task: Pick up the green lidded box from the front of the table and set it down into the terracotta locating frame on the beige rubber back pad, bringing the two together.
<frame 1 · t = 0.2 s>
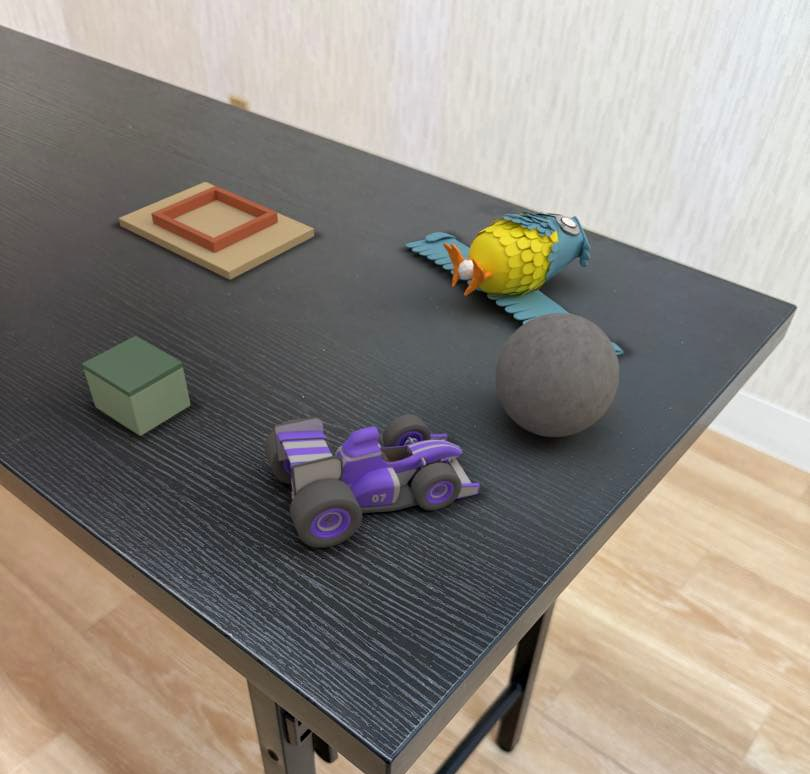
decorative ball: (546, 425, 70), on the table
back pad: (217, 231, 92), on the table
green lidded box: (143, 406, 70), on the table
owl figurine: (512, 296, 84), on the table
toy race car: (375, 491, 64), on the table
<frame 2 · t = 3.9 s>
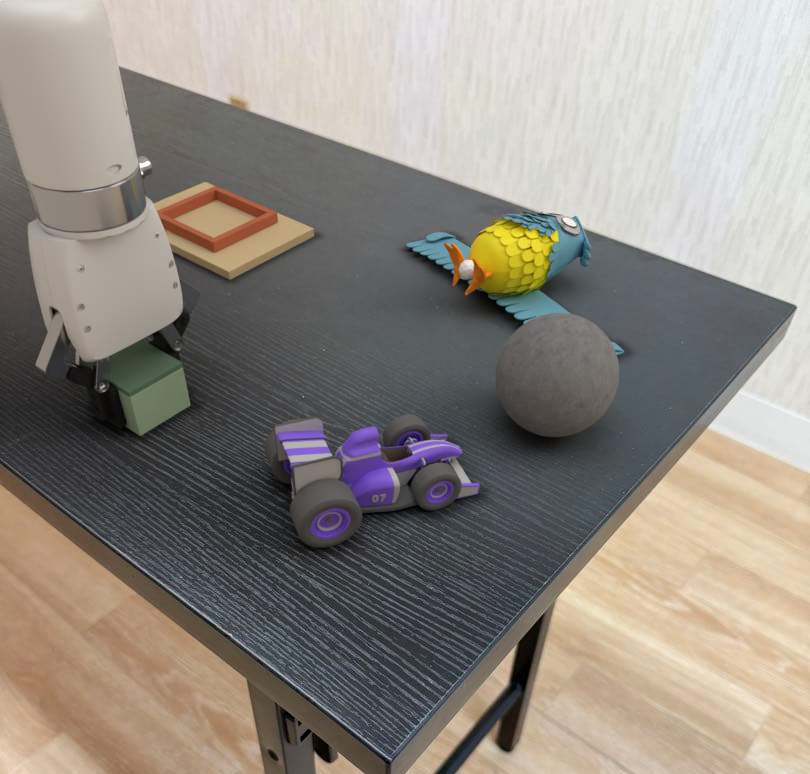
hand: (142, 401, 69), 1 cm above the table, tool pointing down, fingers closed on green lidded box, 5 cm apart
green lidded box: (143, 406, 70), on the table, touching gripper
everything else where it was.
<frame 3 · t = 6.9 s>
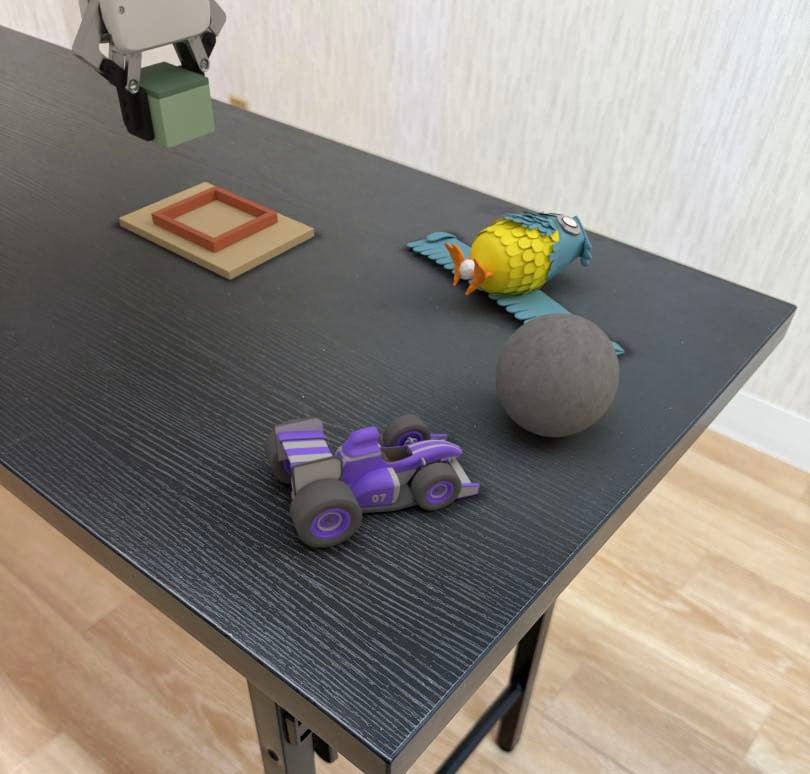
hand: (169, 124, 73), 15 cm above the table, tool pointing down, fingers closed on green lidded box, 5 cm apart
green lidded box: (170, 131, 73), point 15 cm above the table, touching gripper
everything else where it was.
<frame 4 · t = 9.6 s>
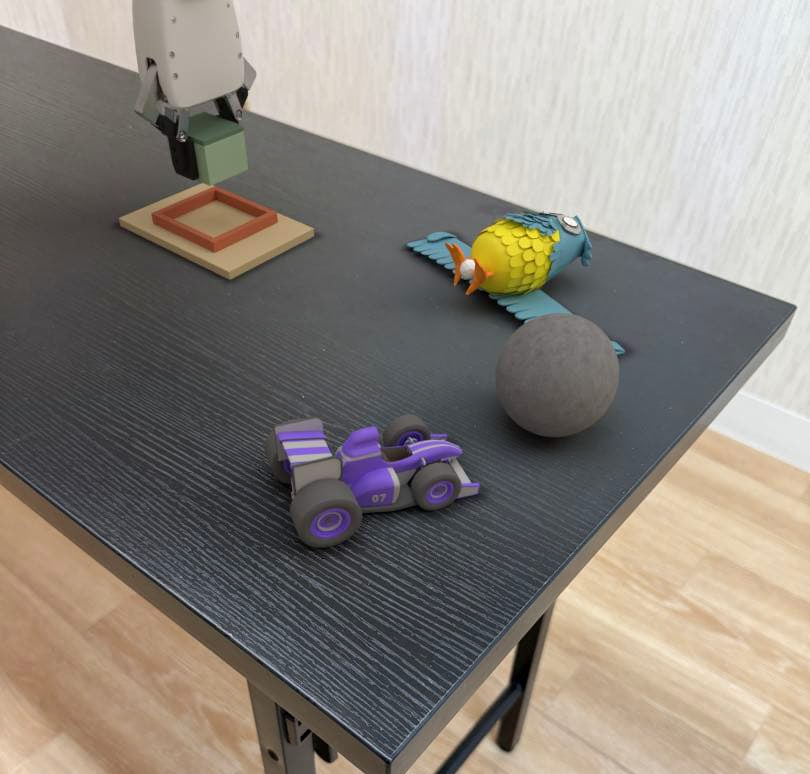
hand: (209, 165, 86), 7 cm above the table, tool pointing down, fingers closed on green lidded box, 5 cm apart
green lidded box: (210, 170, 87), point 7 cm above the table, touching gripper
everything else where it was.
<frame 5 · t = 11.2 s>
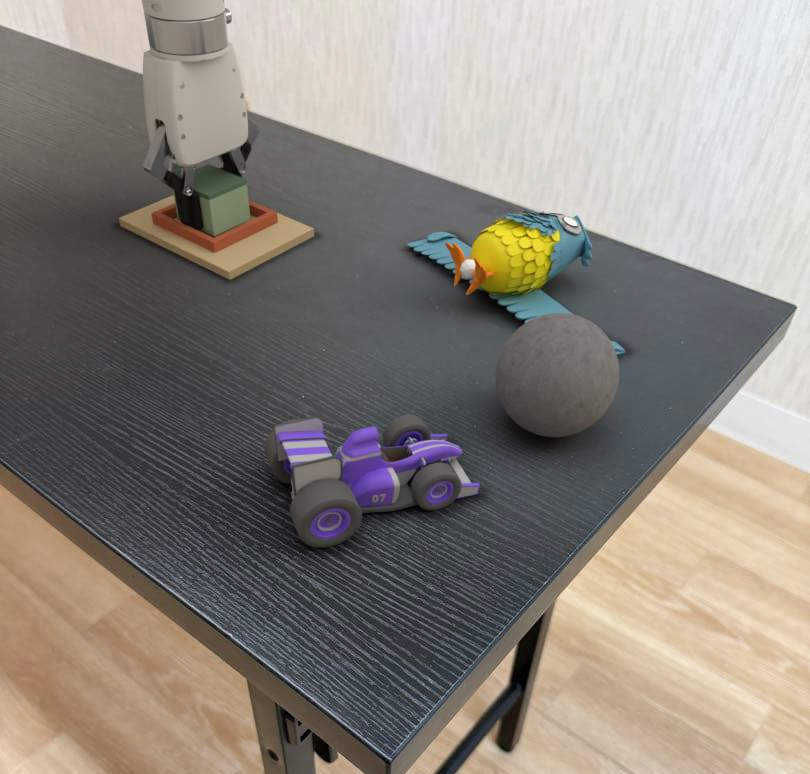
hand: (213, 215, 90), 2 cm above the table, tool pointing down, fingers closed on green lidded box, 5 cm apart
green lidded box: (214, 219, 90), point 1 cm above the table, touching gripper
everything else where it was.
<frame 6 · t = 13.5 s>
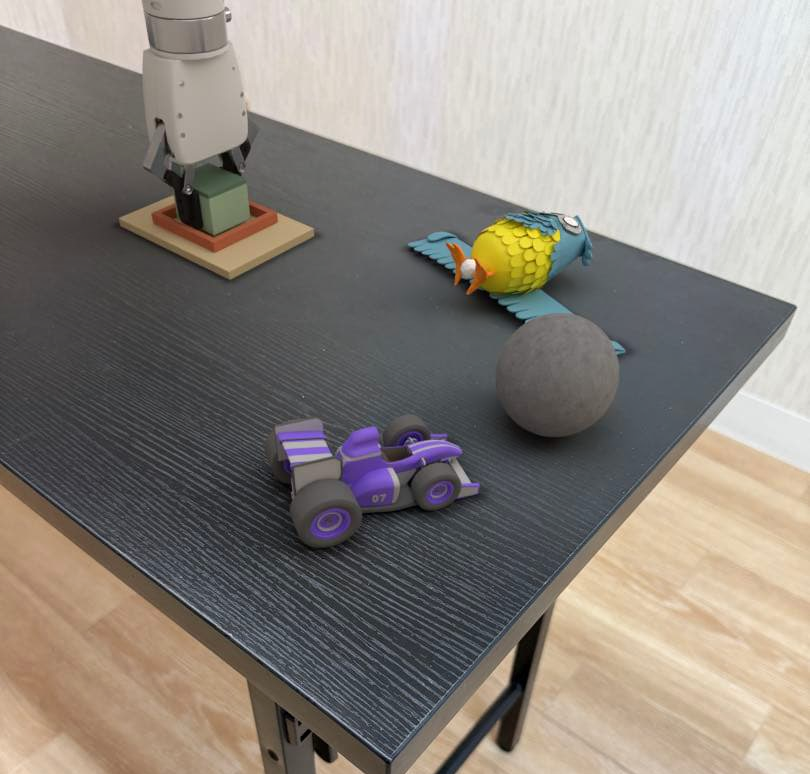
hand: (213, 214, 90), 2 cm above the table, tool pointing down, fingers closed on green lidded box, 5 cm apart
green lidded box: (214, 218, 90), point 2 cm above the table, touching gripper
everything else where it was.
when the fingers open (2 cm above the table, at t = 15.8 s): green lidded box stays where it is, resting on back pad.
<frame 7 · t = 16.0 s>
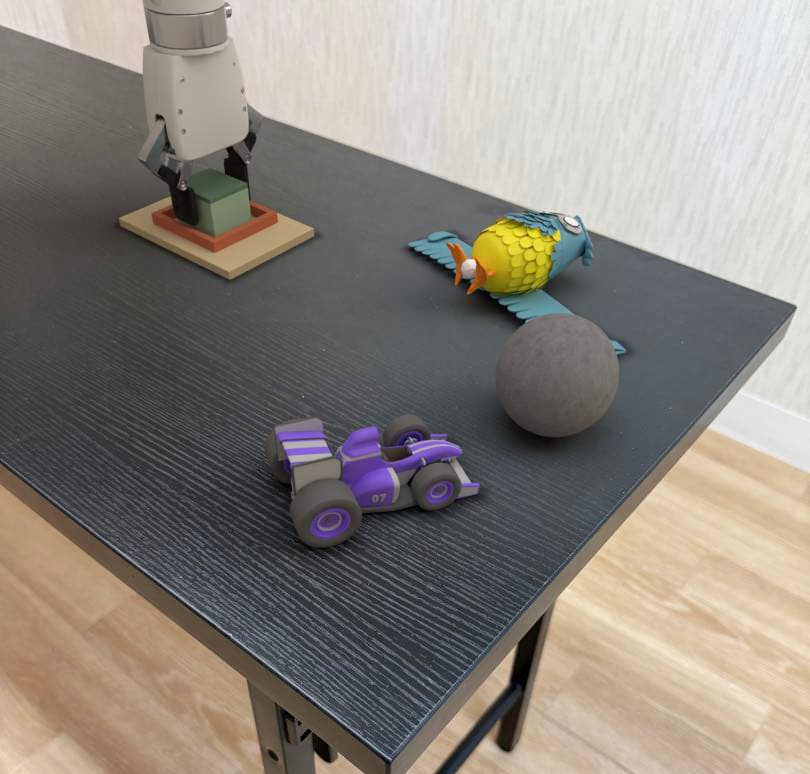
hand: (213, 208, 90), 3 cm above the table, tool pointing down, fingers open, 7 cm apart
green lidded box: (215, 223, 91), point 1 cm above the table, touching back pad
everything else where it was.
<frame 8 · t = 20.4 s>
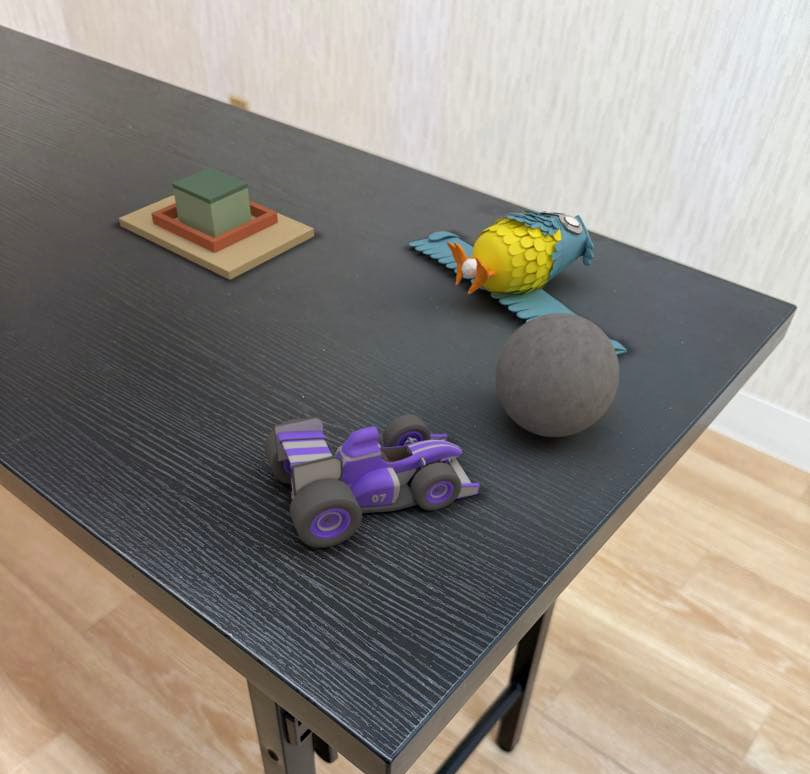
nothing on the table moved.
at the end: green lidded box 0.1 cm off-centre on the back pad, point 1.0 cm above the back pad's base; green lidded box tilted 0° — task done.
